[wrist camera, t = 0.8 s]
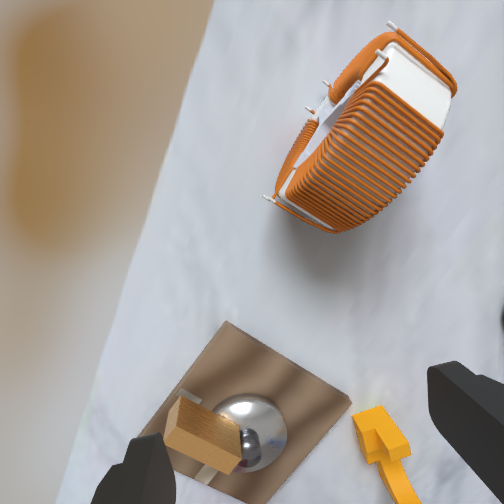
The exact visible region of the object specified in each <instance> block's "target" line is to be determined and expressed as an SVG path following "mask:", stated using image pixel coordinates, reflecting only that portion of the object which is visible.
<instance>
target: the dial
mask: <svg viewBox="0 0 504 504" xmlns="http://www.w3.org/2000/svg"><path fill="white" fill-rule="evenodd" d="M163 440H164V443H165V445H166V446H168V447H170V448H172V449H174V450H177V451H179V452H181V453H183V454H185V455H187V456H189V457H191V458H193V459H195V460H198V461H200V462H202V463H204V464H206V465H208V466H210V467H212V468H214V469H216V470H219V471H221V472H223V473H225V474H227V475H229V474H230V473H231V472H236V473H247V472H253V471H256V470H259V469H262V468H264V467H266V466H268V465H269V464H271V463H272V462H273V461H274V460H276V459H277V457H278V456H279V455H280V454H281V453H282V451H283V449H284V447H285V444H286V441H287V428H286V424H285V421H284V417H283V414H282V412H281V410H280V408H279V407H278V405H277V404H276V403H275V402H274V401H272V400H271V399H269V398H267V397H265V396H263V395H260V394H255V393H243V394H237V395H233V396H231V397H228V398H226V399H225V400H223V401H221V402H220V403H219V404H218V405H216V406H215V407H214V408H213V410H212V411H210V410H208V409H206V408H204V407H203V406H201V405H199V404H197V403H195V402H193V401H191V400H189V399H187V398H185V397H184V396H182V395H181V396H180V397H179V398H178V400H177V401H176V402H175V404H174V405H173V406H172V408H171V409H170V410H169V413H168V418H167V423H166V428H165V433H164V438H163Z"/></svg>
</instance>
